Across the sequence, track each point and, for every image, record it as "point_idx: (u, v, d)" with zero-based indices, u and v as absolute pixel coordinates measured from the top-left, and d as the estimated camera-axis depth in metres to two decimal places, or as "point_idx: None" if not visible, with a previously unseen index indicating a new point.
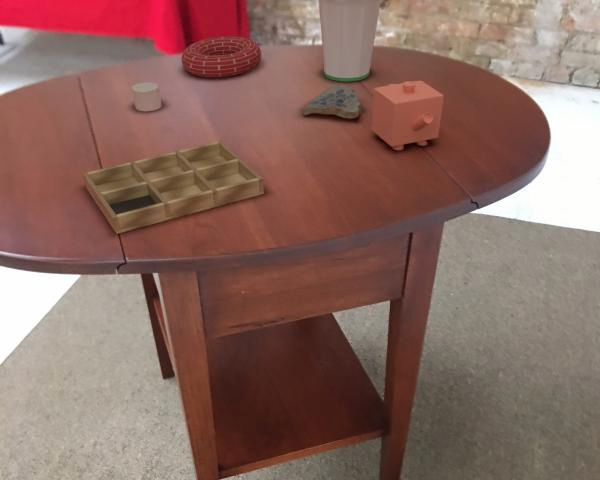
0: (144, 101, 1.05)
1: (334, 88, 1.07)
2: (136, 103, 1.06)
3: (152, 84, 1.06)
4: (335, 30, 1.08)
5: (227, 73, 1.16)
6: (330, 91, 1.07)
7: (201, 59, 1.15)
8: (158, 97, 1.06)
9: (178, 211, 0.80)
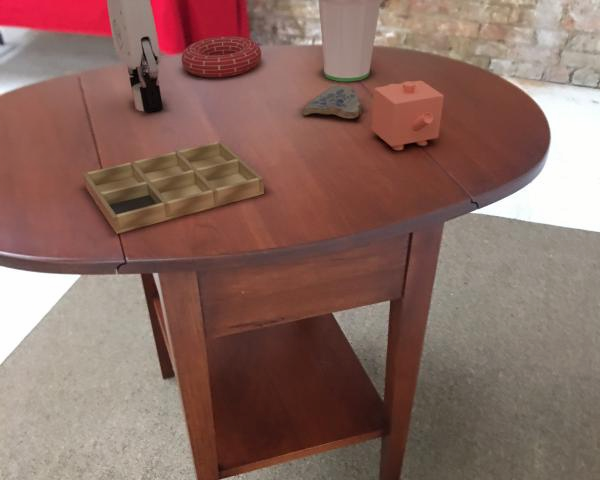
0: None
1: (334, 88, 1.07)
2: (136, 103, 1.06)
3: None
4: (335, 30, 1.08)
5: (227, 73, 1.16)
6: (330, 91, 1.07)
7: (201, 59, 1.15)
8: None
9: (178, 211, 0.80)
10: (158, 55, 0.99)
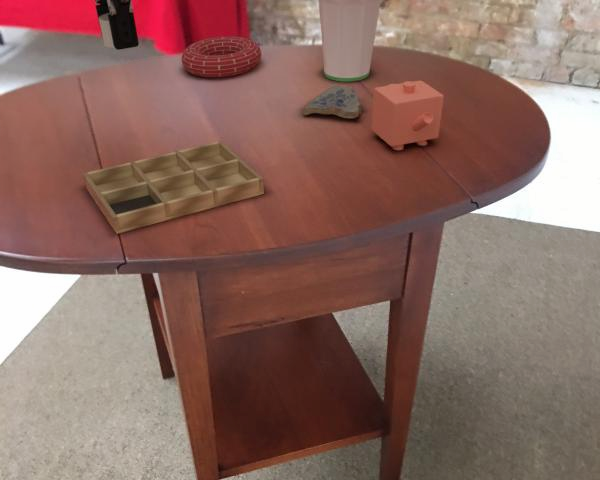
0: None
1: (334, 88, 1.07)
2: (105, 38, 0.83)
3: None
4: (335, 30, 1.08)
5: (227, 73, 1.16)
6: (330, 91, 1.07)
7: (201, 59, 1.15)
8: None
9: (178, 211, 0.80)
10: None
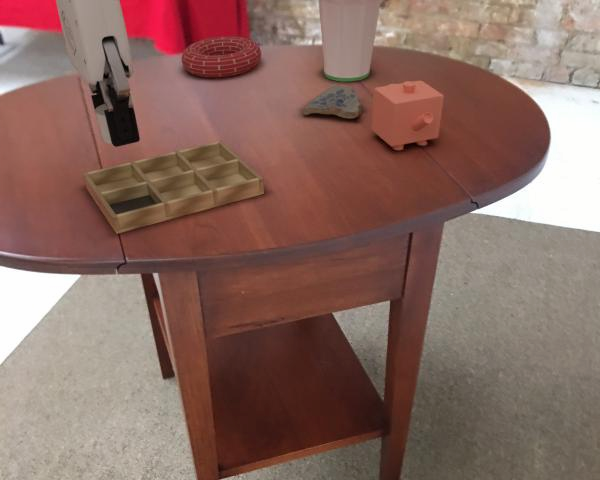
0: None
1: (334, 88, 1.07)
2: (102, 132, 0.73)
3: None
4: (335, 30, 1.08)
5: (227, 73, 1.16)
6: (330, 91, 1.07)
7: (201, 59, 1.15)
8: None
9: (178, 211, 0.80)
10: (130, 64, 0.66)
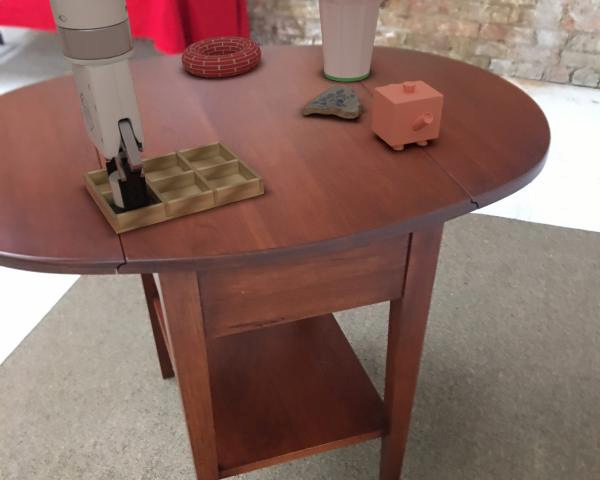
0: None
1: (334, 88, 1.07)
2: (115, 197, 0.78)
3: None
4: (335, 30, 1.08)
5: (227, 73, 1.16)
6: (330, 91, 1.07)
7: (201, 59, 1.15)
8: None
9: (178, 211, 0.80)
10: (143, 141, 0.71)
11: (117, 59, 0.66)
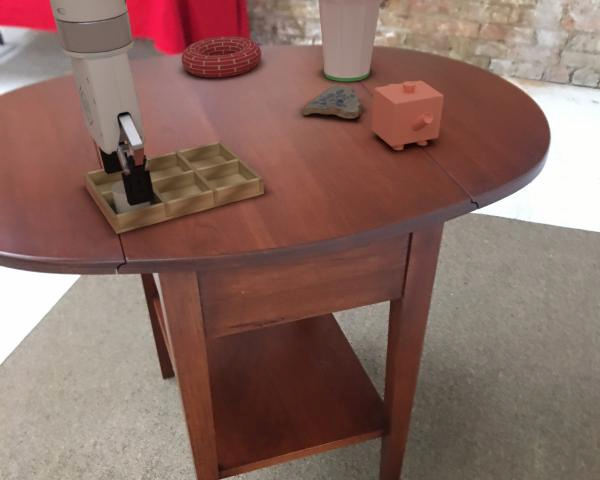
0: (127, 206, 0.79)
1: (334, 88, 1.07)
2: (117, 207, 0.79)
3: None
4: (335, 30, 1.08)
5: (227, 73, 1.16)
6: (330, 91, 1.07)
7: (201, 59, 1.15)
8: None
9: (178, 211, 0.80)
10: (142, 135, 0.71)
11: (116, 52, 0.66)
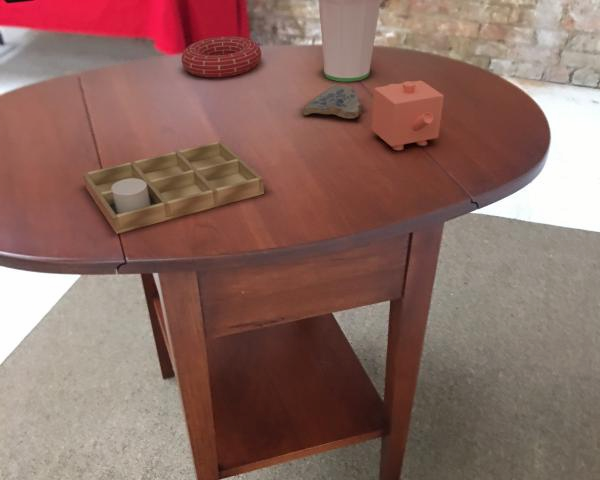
0: (127, 206, 0.79)
1: (334, 88, 1.07)
2: (117, 207, 0.79)
3: (138, 182, 0.80)
4: (335, 30, 1.08)
5: (227, 73, 1.16)
6: (330, 91, 1.07)
7: (201, 59, 1.15)
8: (146, 199, 0.80)
9: (178, 211, 0.80)
10: None
11: None
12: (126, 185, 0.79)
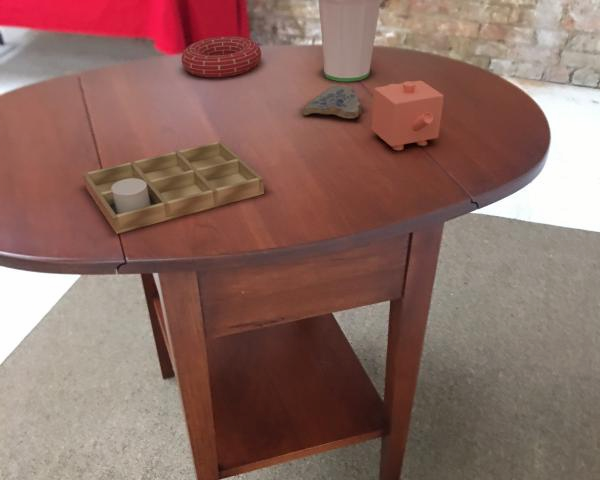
0: (127, 206, 0.79)
1: (334, 88, 1.07)
2: (117, 207, 0.79)
3: (138, 182, 0.80)
4: (335, 30, 1.08)
5: (227, 73, 1.16)
6: (330, 91, 1.07)
7: (201, 59, 1.15)
8: (146, 199, 0.80)
9: (178, 211, 0.80)
10: None
11: None
12: (126, 185, 0.79)
